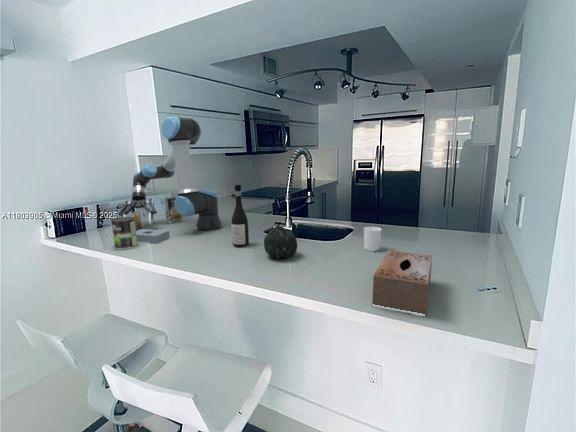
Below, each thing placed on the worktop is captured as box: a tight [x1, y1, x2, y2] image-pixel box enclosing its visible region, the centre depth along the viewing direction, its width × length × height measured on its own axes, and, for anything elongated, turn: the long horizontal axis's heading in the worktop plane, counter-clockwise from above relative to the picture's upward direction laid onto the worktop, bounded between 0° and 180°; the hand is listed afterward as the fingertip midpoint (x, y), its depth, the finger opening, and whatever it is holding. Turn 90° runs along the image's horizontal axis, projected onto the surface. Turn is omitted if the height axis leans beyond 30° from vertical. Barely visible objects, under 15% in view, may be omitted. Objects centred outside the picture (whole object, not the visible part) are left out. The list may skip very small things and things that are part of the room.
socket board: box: [136, 228, 170, 244], centre depth 166 cm, size 18×11×4 cm, turn 76°
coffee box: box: [164, 196, 184, 224], centre depth 207 cm, size 9×6×16 cm
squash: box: [263, 225, 298, 260], centre depth 135 cm, size 14×15×15 cm
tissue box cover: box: [371, 249, 433, 315], centre depth 98 cm, size 26×14×10 cm, turn 153°
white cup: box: [363, 226, 382, 250], centre depth 142 cm, size 8×8×10 cm
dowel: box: [133, 211, 143, 231], centre depth 179 cm, size 3×3×12 cm
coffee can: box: [110, 216, 138, 251], centre depth 153 cm, size 10×10×14 cm
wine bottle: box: [230, 184, 250, 248], centre depth 150 cm, size 8×8×30 cm
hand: (137, 224), depth 177 cm, fingers open, 13 cm apart
